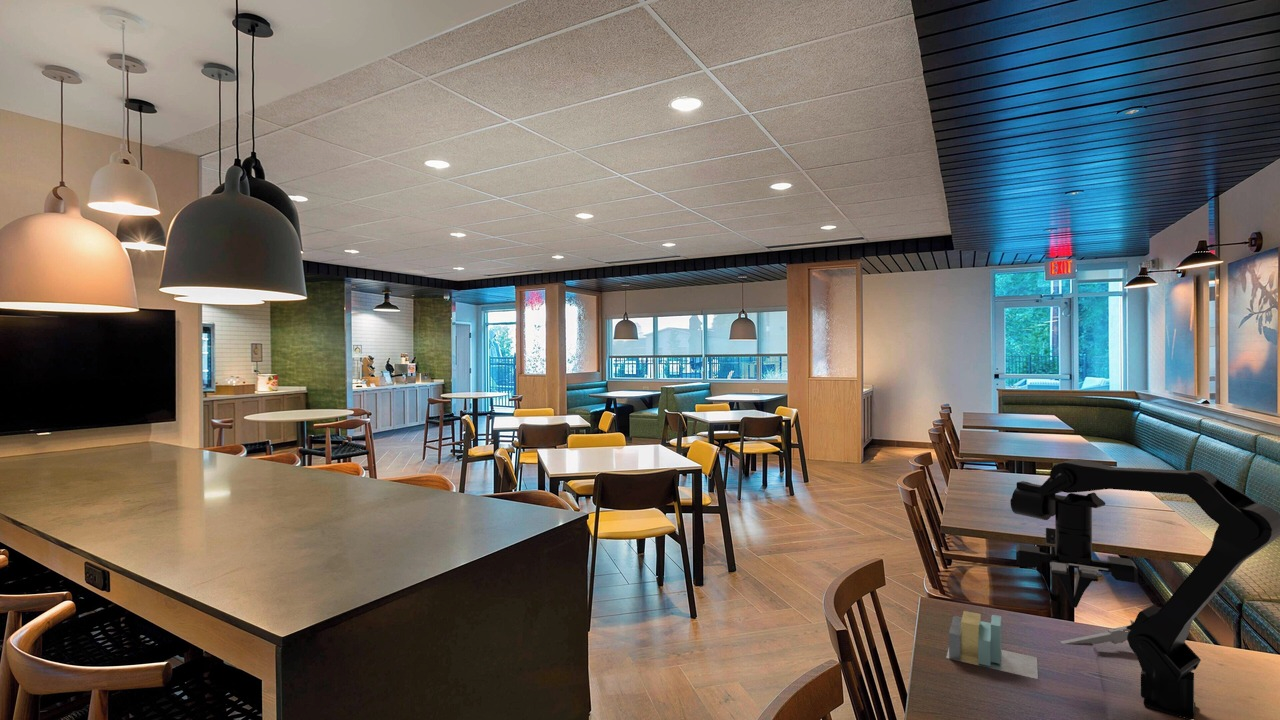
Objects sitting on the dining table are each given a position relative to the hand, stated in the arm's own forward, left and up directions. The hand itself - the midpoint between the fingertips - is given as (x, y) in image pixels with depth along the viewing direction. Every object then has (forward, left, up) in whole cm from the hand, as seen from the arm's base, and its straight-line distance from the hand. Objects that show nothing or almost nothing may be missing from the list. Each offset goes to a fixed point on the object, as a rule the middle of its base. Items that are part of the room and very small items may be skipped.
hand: (1073, 606), depth 117 cm
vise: (+12, +9, -12) cm, 19 cm away
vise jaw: (+12, +9, -10) cm, 18 cm away
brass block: (+15, +10, -10) cm, 21 cm away
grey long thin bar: (-2, -12, -12) cm, 17 cm away
